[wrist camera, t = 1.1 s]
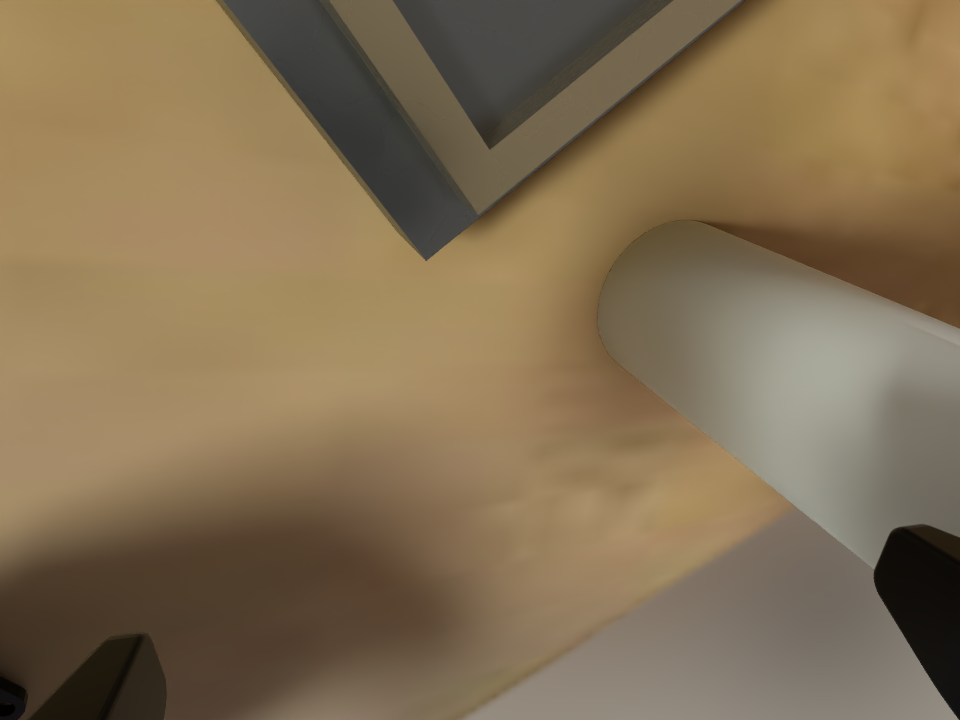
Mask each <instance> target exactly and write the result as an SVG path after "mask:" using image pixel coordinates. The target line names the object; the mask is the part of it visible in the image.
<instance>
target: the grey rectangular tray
mask: <svg viewBox="0 0 960 720" xmlns="http://www.w3.org/2000/svg"><path fill="white" fill-rule="evenodd" d="M216 1H217V2H218V4H219V5H220V6H221V8H222V9H223V10H224V11H225V13H226V14H227V15H228V16H229V18H230V19H231V20H232V22H233V23H234V24H235V25H236V27H237V28H238V29H239V31H240V32H241V33H242V34H243V36H244V37H245V38H246V39H247V41H248V42H249V43H250V45H251V46H252V47H253V48H254V50H255V51H256V52H257V53H258V55H259V56H260V57H261V59H262V60H263V61H264V62H265V64H266V65H267V66H268V67H269V69H270V70H271V71H272V73H273V74H274V75H275V76H276V78H277V79H278V80H279V82H280V83H281V84H282V85H283V87H284V88H285V89H286V90H287V92H288V93H289V94H290V96H291V97H292V98H293V99H294V101H295V102H296V103H297V104H298V106H299V107H300V108H301V110H302V111H303V112H304V113H305V115H306V116H307V117H308V119H309V120H310V121H311V122H312V124H313V125H314V126H315V127H316V129H317V130H318V131H319V133H320V134H321V135H322V136H323V138H324V139H325V140H326V141H327V143H328V144H329V145H330V147H331V148H332V149H333V150H334V152H335V153H336V154H337V155H338V157H339V158H340V159H341V161H342V162H343V163H344V164H345V166H346V167H347V168H348V170H349V171H350V172H351V173H352V175H353V176H354V177H355V178H356V180H357V181H358V182H359V184H360V185H361V186H362V187H363V189H364V190H365V191H366V192H367V194H368V195H369V196H370V198H371V199H372V200H373V201H374V203H375V204H376V205H377V206H378V208H379V209H380V210H381V212H382V213H383V214H384V215H385V217H386V218H387V219H388V221H389V222H390V223H391V224H392V226H393V227H394V228H395V229H396V231H397V232H398V233H399V234H400V235H401V236H402V237H403V238H404V239H405V240H406V241H407V242H408V243H409V244H410V245H411V246H412V247H413V248H414V249H415V250H416V251H417V252H418V253H419V254H420V255H421V256H422V257H423V258H424V259H425V260H426V261H427V260H428V259H429V258H430V257H432V256H433V255H434V254H435V253H436V252H438V251H439V250H440V249H441V248H443V247H444V246H445V245H446V244H447V243H449V242H450V241H451V240H452V239H454V238H455V237H456V236H457V235H458V234H460V233H461V232H462V231H463V230H465V229H466V228H467V227H468V226H469V225H471V224H472V223H473V222H474V221H476V220H477V219H478V218H479V217H480V216H482V215H483V214H484V213H485V212H487V211H488V210H489V209H490V208H491V207H493V206H494V205H495V204H496V203H498V202H499V201H500V200H501V199H502V198H504V197H505V196H506V195H507V194H509V193H510V192H511V191H512V190H513V189H515V188H516V187H517V186H518V185H520V184H521V183H522V182H523V181H524V180H526V179H527V178H528V177H529V176H531V175H532V174H533V173H534V172H535V171H537V170H538V169H539V168H540V167H542V166H543V165H544V164H545V163H546V162H548V161H549V160H550V159H551V158H553V157H554V156H555V155H556V154H557V153H559V152H560V151H561V150H562V149H564V148H565V147H566V146H567V145H568V144H570V143H571V142H572V141H573V140H575V139H576V138H577V137H578V136H579V135H581V134H582V133H583V132H584V131H586V130H587V129H588V128H589V127H590V126H592V125H593V124H594V123H595V122H597V121H598V120H599V119H600V118H601V117H603V116H604V115H605V114H606V113H608V112H609V111H610V110H611V109H612V108H614V107H615V106H616V105H617V104H619V103H620V102H621V101H622V100H623V99H625V98H626V97H627V96H628V95H630V94H631V93H632V92H633V91H634V90H636V89H637V88H638V87H639V86H641V85H642V84H643V83H644V82H645V81H647V80H648V79H649V78H650V77H652V76H653V75H654V74H655V73H656V72H658V71H659V70H660V69H661V68H663V67H664V66H665V65H666V64H667V63H669V62H670V61H671V60H672V59H674V58H675V57H676V56H677V55H678V54H680V53H681V52H682V51H683V50H685V49H686V48H687V47H688V46H689V45H691V44H692V43H693V42H694V41H696V40H697V39H698V38H699V37H700V36H702V35H703V34H704V33H705V32H707V31H708V30H709V29H710V28H711V27H713V26H714V25H715V24H716V23H718V22H719V21H720V20H721V19H722V18H724V17H725V16H726V15H727V14H729V13H730V12H731V11H732V10H733V9H735V8H736V7H737V6H738V5H740V4H741V3H742V2H743V1H744V0H216Z"/></svg>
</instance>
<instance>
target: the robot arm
mask: <svg viewBox="0 0 960 720" xmlns="http://www.w3.org/2000/svg"><path fill="white" fill-rule="evenodd" d="M874 583H875V586H876V589H877V592H878V594H879V596H880V597H881V599H882V601H883V602H884V604H885V606H886V607H887V609H888V611H889V612H890V614H891V615H892V617H893V618H894V620H895V622H896V624H897V625H898V627H899V629H900V630H901V632H902V633H903V635H904V637H905V638H906V640H907V642H908V643H909V645H910V647H911V648H912V650H913V651H914V653H915V655H916V656H917V658H918V660H919V661H920V663H921V665H922V666H923V668H924V669H925V671H926V673H927V674H928V676H929V677H930V679H931V681H932V682H933V684H934V685H935V687H936V688H937V690H938V691H939V693H940V694H941V696H942V697H943V698H944V700H945V701H946V703H947V704H948V705H949V707H950V708H951V710H952V711H953V712H954V714H955V715H956V716H957V718H958V719H959V720H960V537H958V536H955V535H953V534H950V533H948V532H945V531H943V530H940V529H937V528H935V527H932V526H930V525H926V524H916V525H908V526H901V527H897V528H894V529H893V530H892V531H891V532H890V534H889V535H888V538H887V540H886V543H885V545H884V547H883V550H882V552H881V555H880V557H879V559H878V562H877V564H876V567H875V570H874ZM27 698H28V694H27V692H26V690H25V689H24V688H22V687H21V686H19V685H17V684H15V683H13V682H11V681H9V680H7V679H5V678H3V677H1V676H0V720H17V719H18V718H19V717H21V715H22V714H23V713H24V712H25V707H26V703H27ZM6 702H8V703H12V704H11V705H2V704H1V703H6ZM165 707H166V681H165V676H164V673H163V670H162V667H161V665H160V662H159V659H158V656H157V653H156V651H155V648H154V645H153V642H152V640H151V638H150V636H149V635H148V634H147V633H145V632H136V633H129V634H122V635H115V636H111V637H109V638H107V639H106V640H105V641H104V642H102V643H101V644H100V645H99V646H98V647H97V648H96V649H95V650H94V651H93V652H92V653H91V654H90V655H89V656H88V657H87V659H86V660H85V661H84V662H83V663H82V664H81V665H80V666H79V667H78V668H77V669H76V670H75V671H74V672H73V673H72V674H71V675H70V676H69V677H68V678H67V679H66V680H65V681H64V682H63V683H62V684H61V685H60V686H59V687H58V688H57V689H56V690H55V691H54V692H53V693H52V694H51V695H50V696H49V697H48V698H47V699H46V700H45V701H44V702H43V703H42V704H41V705H40V706H39V707H38V708H37V709H36V710H35V711H34V712H33V713H32V714H31V715H30V716H29V717H28V718H27V719H26V720H164V715H165Z"/></svg>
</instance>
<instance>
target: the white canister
mask: <svg viewBox="0 0 960 720" xmlns="http://www.w3.org/2000/svg"><path fill="white" fill-rule="evenodd" d="M597 318H598V329H599V334H600V337H601V340H602V343H603V345H604V347H605V349H606V351H607V352H608V354H609V355H610V356H611V358H612V359H613V360H614V361H616V362H617V363H618V364H619V365H620V366H621V367H623V368H624V369H625V370H626V371H628V372H629V373H630V374H631V375H633V376H634V377H635V378H636V379H638V380H639V381H640V382H641V383H643V384H644V385H645V386H646V387H647V388H649V389H650V390H651V391H652V392H654V393H655V394H656V395H657V396H659V397H660V398H661V399H662V400H664V401H665V402H666V403H667V404H669V405H670V406H671V407H672V408H674V409H675V410H676V411H677V412H679V413H680V414H681V415H682V416H684V417H685V418H686V419H687V420H689V421H690V422H691V423H692V424H694V425H695V426H696V427H697V428H699V429H700V430H701V431H702V432H703V433H705V434H706V435H707V436H708V437H710V438H711V439H712V440H713V441H715V442H716V443H717V444H718V445H720V446H721V447H722V448H723V449H725V450H726V451H727V452H728V453H730V454H731V455H732V456H733V457H735V458H736V459H737V460H738V461H740V462H741V463H742V464H743V465H745V466H746V467H747V468H748V469H750V470H751V471H752V472H753V473H755V474H756V475H757V476H758V477H759V478H761V479H762V480H763V481H764V482H766V483H767V484H768V485H769V486H771V487H772V488H773V489H774V490H776V491H777V492H778V493H779V494H781V495H782V496H783V497H784V498H786V499H787V500H788V501H789V502H791V503H792V504H793V505H794V506H796V507H797V508H798V509H799V510H801V511H802V512H803V513H804V514H806V515H807V516H808V517H809V518H811V519H812V520H813V521H814V522H816V523H817V524H818V525H819V526H821V527H822V528H823V529H824V530H826V531H827V532H828V533H829V534H830V535H832V536H833V537H834V538H835V539H837V540H838V541H839V542H840V543H842V544H843V545H844V546H845V547H847V548H848V549H849V550H850V551H852V552H853V553H854V554H855V555H857V556H858V557H859V558H860V559H862V560H863V561H864V562H865V563H867V564H868V565H869V566H870V567H872V568H873V569H874V570H875V567H876V564H877V562H878V559H879V557H880V555H881V552H882V550H883V547H884V545H885V543H886V540H887V538H888V535H889V534H890V532H891V531H892V530H893V529H894V528H897V527H901V526H908V525H916V524H926V525H930V526H932V527H935V528H937V529H940V530H943V531H945V532H948V533H950V534H953V535H955V536H958V537H960V328H957V327H955V326H952V325H950V324H947V323H945V322H943V321H940V320H938V319H935V318H933V317H930V316H928V315H926V314H923V313H921V312H918V311H916V310H913V309H911V308H909V307H906V306H904V305H901V304H899V303H897V302H894V301H892V300H889V299H887V298H884V297H882V296H880V295H877V294H875V293H872V292H870V291H867V290H865V289H863V288H860V287H858V286H855V285H853V284H850V283H848V282H846V281H843V280H841V279H838V278H836V277H834V276H831V275H829V274H826V273H824V272H821V271H819V270H817V269H814V268H812V267H809V266H807V265H804V264H802V263H800V262H797V261H795V260H792V259H790V258H788V257H785V256H783V255H780V254H778V253H775V252H773V251H771V250H768V249H766V248H763V247H761V246H758V245H756V244H754V243H751V242H749V241H746V240H744V239H741V238H739V237H737V236H734V235H732V234H729V233H727V232H725V231H722V230H720V229H717V228H715V227H712V226H710V225H707V224H705V223H702V222H698V221H693V220H679V221H672V222H669V223H665V224H662V225H660V226H657V227H655V228H653V229H651V230H649V231H648V232H646V233H644V234H643V235H642V236H640V237H639V238H637V239H636V240H635V241H634V242H633V243H632V244H631V245H629V246H628V247H627V248H626V250H625V251H624V252H623V253H622V254H621V255H620V256H619V258H618V259H617V261H616V262H615V264H614V265H613V267H612V268H611V270H610V272H609V274H608V276H607V278H606V280H605V283H604V285H603V288H602V291H601V295H600V299H599V304H598V316H597Z"/></svg>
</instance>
